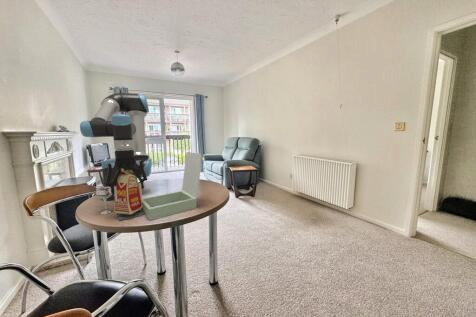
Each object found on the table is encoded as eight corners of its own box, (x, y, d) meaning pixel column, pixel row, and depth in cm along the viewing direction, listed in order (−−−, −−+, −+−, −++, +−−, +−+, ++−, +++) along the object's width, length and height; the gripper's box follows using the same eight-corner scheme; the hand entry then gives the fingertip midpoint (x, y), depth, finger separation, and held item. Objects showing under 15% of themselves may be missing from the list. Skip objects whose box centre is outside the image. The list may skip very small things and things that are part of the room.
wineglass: (118, 209, 99) (115, 186, 97) (106, 215, 92) (104, 190, 90) (106, 209, 100) (103, 186, 98) (94, 214, 93) (91, 189, 92)
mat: (116, 214, 93) (116, 212, 93) (139, 208, 99) (139, 207, 99) (119, 221, 85) (119, 219, 85) (144, 215, 91) (144, 213, 91)
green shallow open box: (140, 208, 100) (139, 199, 99) (182, 199, 113) (182, 190, 112) (150, 220, 86) (149, 209, 85) (196, 208, 99) (196, 198, 98)
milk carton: (131, 214, 87) (126, 169, 84) (113, 213, 88) (108, 169, 86) (144, 206, 95) (141, 166, 93) (128, 205, 97) (124, 165, 95)
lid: (186, 151, 112) (188, 152, 113) (182, 190, 112) (184, 190, 113) (201, 154, 98) (203, 154, 99) (196, 198, 98) (198, 197, 99)
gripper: (94, 151, 79) (100, 205, 82) (152, 148, 92) (155, 195, 95) (93, 150, 85) (99, 201, 88) (148, 147, 98) (151, 191, 101)
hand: (128, 198), depth 91 cm, fingers closed on milk carton, 9 cm apart
